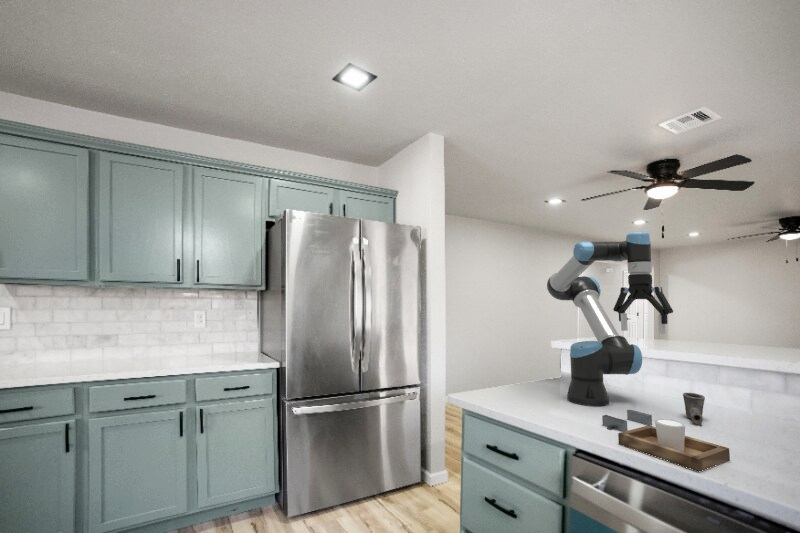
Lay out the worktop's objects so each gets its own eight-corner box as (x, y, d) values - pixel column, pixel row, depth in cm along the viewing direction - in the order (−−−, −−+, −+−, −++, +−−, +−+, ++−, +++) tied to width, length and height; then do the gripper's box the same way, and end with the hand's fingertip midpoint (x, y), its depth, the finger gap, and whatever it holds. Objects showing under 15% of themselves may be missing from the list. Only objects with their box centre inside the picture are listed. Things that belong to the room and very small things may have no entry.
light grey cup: (659, 451, 103) (657, 424, 103) (653, 442, 109) (652, 417, 109) (690, 456, 100) (688, 428, 100) (682, 446, 106) (681, 420, 107)
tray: (618, 444, 110) (618, 433, 110) (649, 435, 116) (648, 425, 117) (699, 472, 92) (698, 459, 92) (729, 460, 99) (729, 448, 99)
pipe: (686, 424, 127) (685, 399, 127) (682, 414, 138) (681, 391, 138) (710, 427, 123) (709, 402, 124) (704, 417, 134) (702, 393, 135)
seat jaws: (598, 426, 125) (598, 416, 125) (634, 417, 133) (634, 408, 134) (619, 432, 119) (619, 422, 119) (655, 423, 127) (655, 414, 128)
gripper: (602, 275, 152) (604, 329, 151) (670, 271, 130) (673, 335, 129) (614, 275, 156) (616, 329, 154) (682, 272, 134) (686, 334, 132)
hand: (642, 332), depth 141 cm, fingers open, 13 cm apart
